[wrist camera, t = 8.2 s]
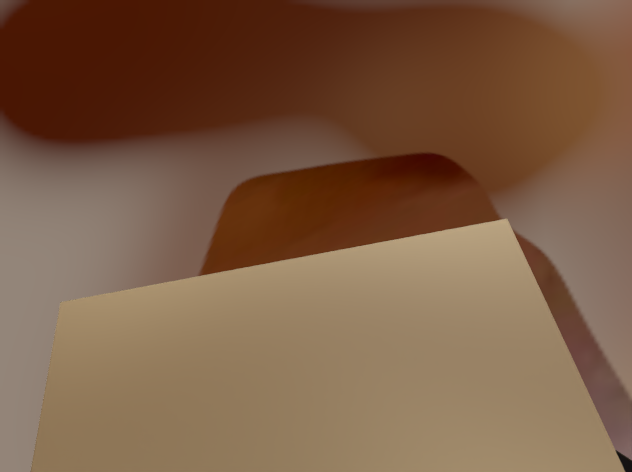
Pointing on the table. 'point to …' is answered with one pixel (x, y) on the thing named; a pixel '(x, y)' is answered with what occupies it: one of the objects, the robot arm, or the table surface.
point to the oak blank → (326, 369)
